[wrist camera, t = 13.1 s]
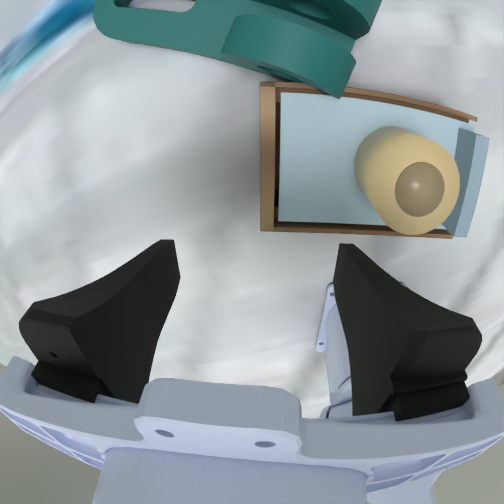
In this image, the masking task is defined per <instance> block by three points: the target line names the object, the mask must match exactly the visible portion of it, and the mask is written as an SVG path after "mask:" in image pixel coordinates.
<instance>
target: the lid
mask: <svg viewBox="0 0 504 504" xmlns="http://www.w3.org/2000/svg"><path fill="white" fill-rule="evenodd" d="M387 126H396V127H401V128H404V129H406V130H409V131H411V132H414V133H416V134H418V135H421V136H423V137H425V138H428V139H430V140H432V141H434V142H436V143H438V144H440V145H442V146H443V147H444V148H445V149H446V150H447V151H448V152H449V153H450V154H451V156H452V157H453V159H454V160H455V162H456V165H457V168H458V171H459V177H460V189H459V195H458V199H457V202H456V204H455V206H454V208H453V210H452V212H451V213H450V215H449V216H448V217H447V219H446V220H445V221H444V222H443V223H442V224H440V225H439V226H438V227H436V228H435V229H447V230H448V231H449V232H450V233H451V234H452V235H453V236H454V237H467V234H468V231H469V227H470V224H471V221H472V217H473V214H474V210H475V207H476V203H477V199H478V195H479V191H480V186H481V182H482V177H483V173H484V167H485V162H486V157H487V151H488V144H489V138H487V137H484V136H482V135H479V134H476V133H474V125H472V124H469V123H466V122H463V121H459V120H456V119H453V118H449V117H446V116H442V115H438V114H434V113H430V112H426V111H422V110H418V109H413V108H409V107H404V106H399V105H394V104H388V103H383V102H377V101H370V100H364V99H356V98H349V97H341V98H340V99H337V98H335V97H333V96H330V95H319V94H305V93H283V92H280V166H279V205H278V221H291V222H322V223H346V224H368V225H386V224H385V223H384V221H383V220H382V219H381V217H380V216H379V214H378V213H377V211H376V210H375V208H374V207H373V206H372V204H371V203H370V201H369V200H368V198H367V197H366V196H365V194H364V193H363V192H362V190H361V189H360V187H359V185H358V183H357V181H356V178H355V173H354V160H355V155H356V152H357V149H358V147H359V145H360V144H361V142H362V141H363V140H364V139H365V137H366V136H368V135H369V134H370V133H371V132H373V131H375V130H377V129H379V128H382V127H387ZM386 226H387V225H386Z"/></svg>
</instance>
